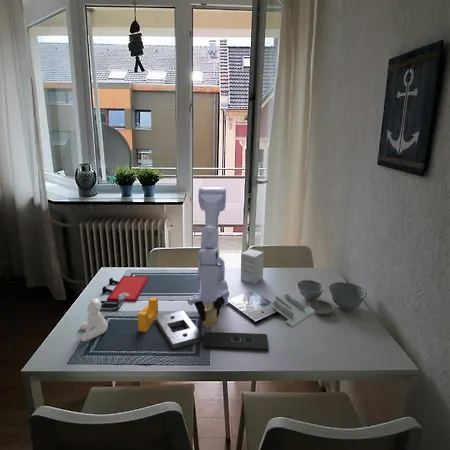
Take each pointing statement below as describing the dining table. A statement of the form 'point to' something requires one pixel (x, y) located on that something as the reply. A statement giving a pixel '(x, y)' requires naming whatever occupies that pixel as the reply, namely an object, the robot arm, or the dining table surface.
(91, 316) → the sitting furry creature
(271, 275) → the dining table surface
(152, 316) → the pipe clamp
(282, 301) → the metal bracket
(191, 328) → the metal plate with hole
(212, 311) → the brass block
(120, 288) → the red board with handle
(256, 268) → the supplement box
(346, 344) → the dining table surface
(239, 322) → the dining table surface
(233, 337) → the smart home device
